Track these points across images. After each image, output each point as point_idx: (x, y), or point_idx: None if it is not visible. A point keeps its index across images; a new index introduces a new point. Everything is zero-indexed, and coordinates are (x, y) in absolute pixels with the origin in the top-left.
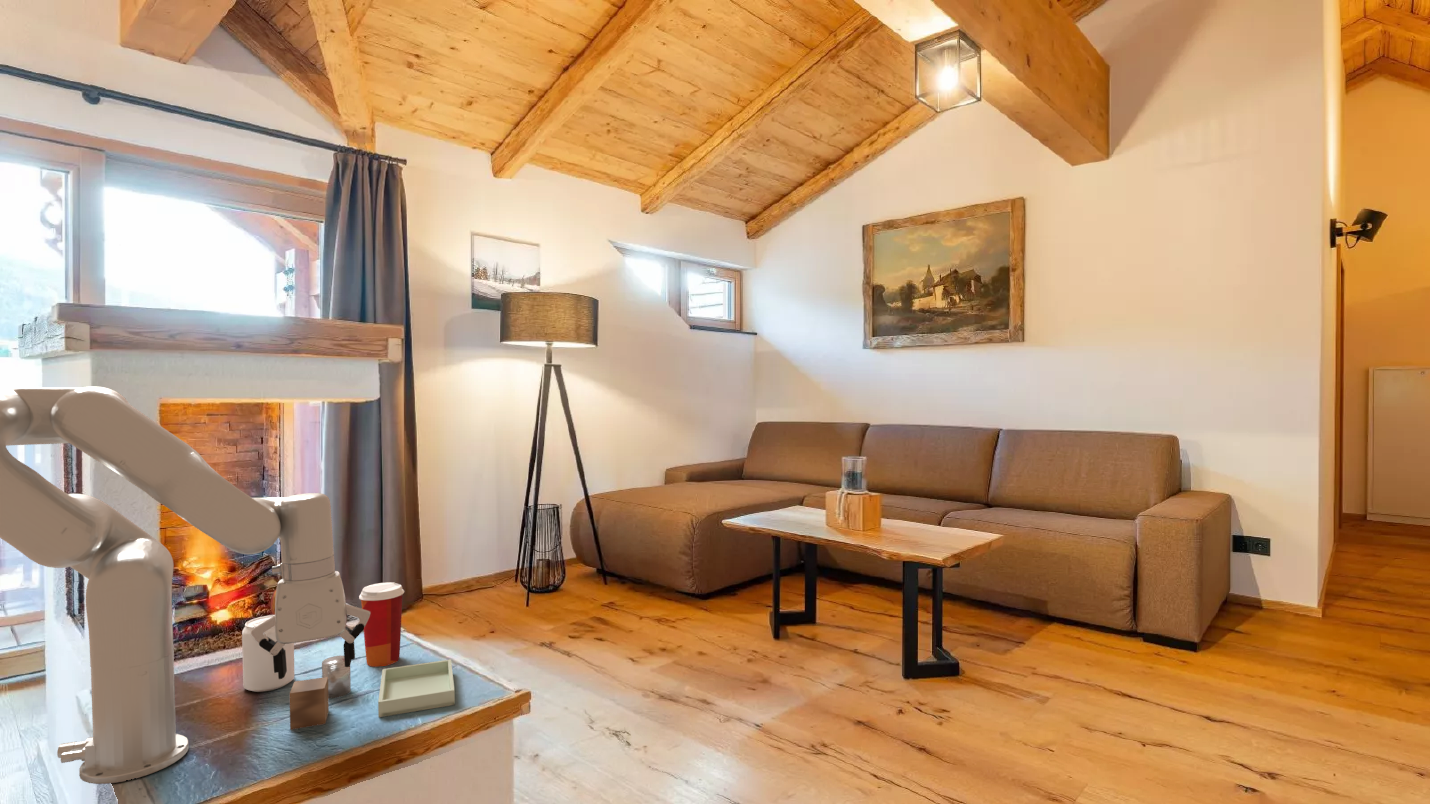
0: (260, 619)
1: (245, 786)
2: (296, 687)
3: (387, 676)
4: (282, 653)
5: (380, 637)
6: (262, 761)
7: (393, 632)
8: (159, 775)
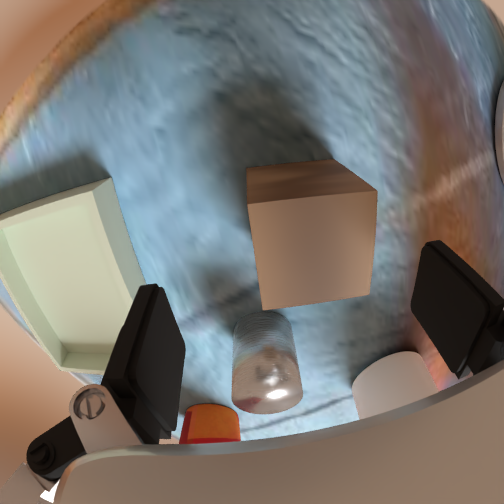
0: None
1: None
2: (359, 242)
3: None
4: (477, 334)
5: None
6: (351, 3)
7: None
8: (501, 59)
